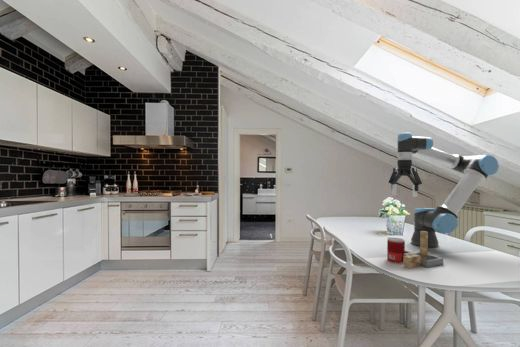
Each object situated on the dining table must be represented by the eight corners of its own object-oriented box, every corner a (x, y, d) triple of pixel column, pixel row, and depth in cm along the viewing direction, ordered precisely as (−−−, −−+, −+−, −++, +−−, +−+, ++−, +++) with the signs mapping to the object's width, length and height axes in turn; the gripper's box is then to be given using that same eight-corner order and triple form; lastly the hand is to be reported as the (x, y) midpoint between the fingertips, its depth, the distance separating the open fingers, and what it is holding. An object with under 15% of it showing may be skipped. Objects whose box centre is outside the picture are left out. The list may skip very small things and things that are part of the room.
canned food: (406, 263, 140) (406, 241, 140) (389, 262, 142) (389, 240, 142) (402, 259, 148) (402, 238, 148) (385, 258, 149) (385, 237, 149)
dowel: (422, 259, 144) (423, 230, 144) (428, 261, 141) (429, 231, 141) (418, 260, 143) (418, 231, 143) (424, 262, 140) (424, 232, 140)
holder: (402, 253, 157) (402, 249, 157) (415, 257, 150) (415, 253, 150) (391, 255, 154) (391, 250, 154) (404, 259, 147) (404, 254, 147)
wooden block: (414, 264, 139) (415, 254, 139) (420, 266, 136) (420, 255, 136) (403, 266, 136) (403, 255, 136) (408, 268, 133) (409, 257, 133)
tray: (420, 257, 150) (420, 252, 150) (443, 264, 139) (443, 258, 139) (404, 260, 145) (404, 254, 145) (426, 267, 134) (426, 261, 134)
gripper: (382, 160, 174) (382, 194, 174) (420, 158, 152) (419, 198, 152) (391, 160, 177) (391, 194, 177) (429, 159, 155) (429, 197, 155)
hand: (404, 196), depth 164 cm, fingers open, 13 cm apart
